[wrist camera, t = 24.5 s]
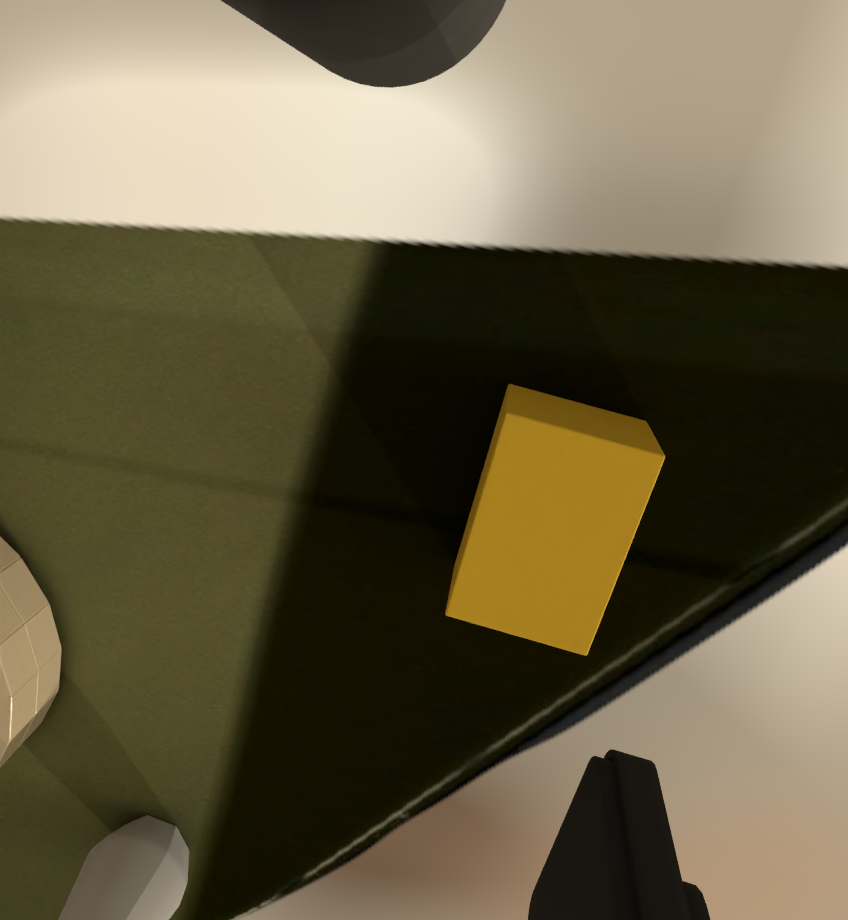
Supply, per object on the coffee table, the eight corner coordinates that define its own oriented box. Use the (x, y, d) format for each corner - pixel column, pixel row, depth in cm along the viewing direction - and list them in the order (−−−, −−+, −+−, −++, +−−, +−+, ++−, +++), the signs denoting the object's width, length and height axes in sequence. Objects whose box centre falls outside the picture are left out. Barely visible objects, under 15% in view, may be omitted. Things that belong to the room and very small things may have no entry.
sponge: (508, 382, 31) (505, 412, 26) (647, 420, 30) (666, 456, 26) (454, 564, 34) (444, 615, 30) (579, 599, 34) (587, 656, 29)
